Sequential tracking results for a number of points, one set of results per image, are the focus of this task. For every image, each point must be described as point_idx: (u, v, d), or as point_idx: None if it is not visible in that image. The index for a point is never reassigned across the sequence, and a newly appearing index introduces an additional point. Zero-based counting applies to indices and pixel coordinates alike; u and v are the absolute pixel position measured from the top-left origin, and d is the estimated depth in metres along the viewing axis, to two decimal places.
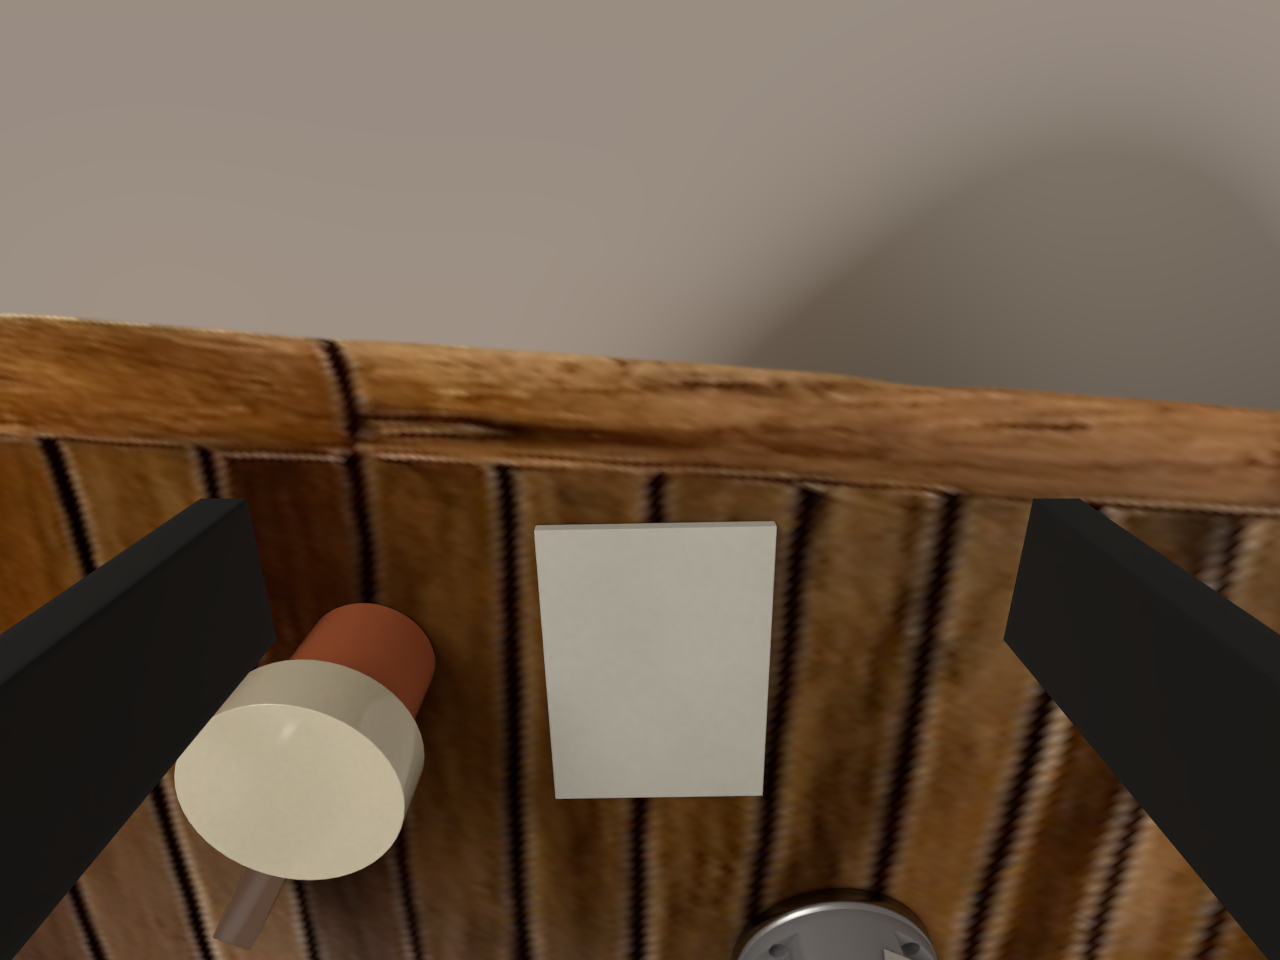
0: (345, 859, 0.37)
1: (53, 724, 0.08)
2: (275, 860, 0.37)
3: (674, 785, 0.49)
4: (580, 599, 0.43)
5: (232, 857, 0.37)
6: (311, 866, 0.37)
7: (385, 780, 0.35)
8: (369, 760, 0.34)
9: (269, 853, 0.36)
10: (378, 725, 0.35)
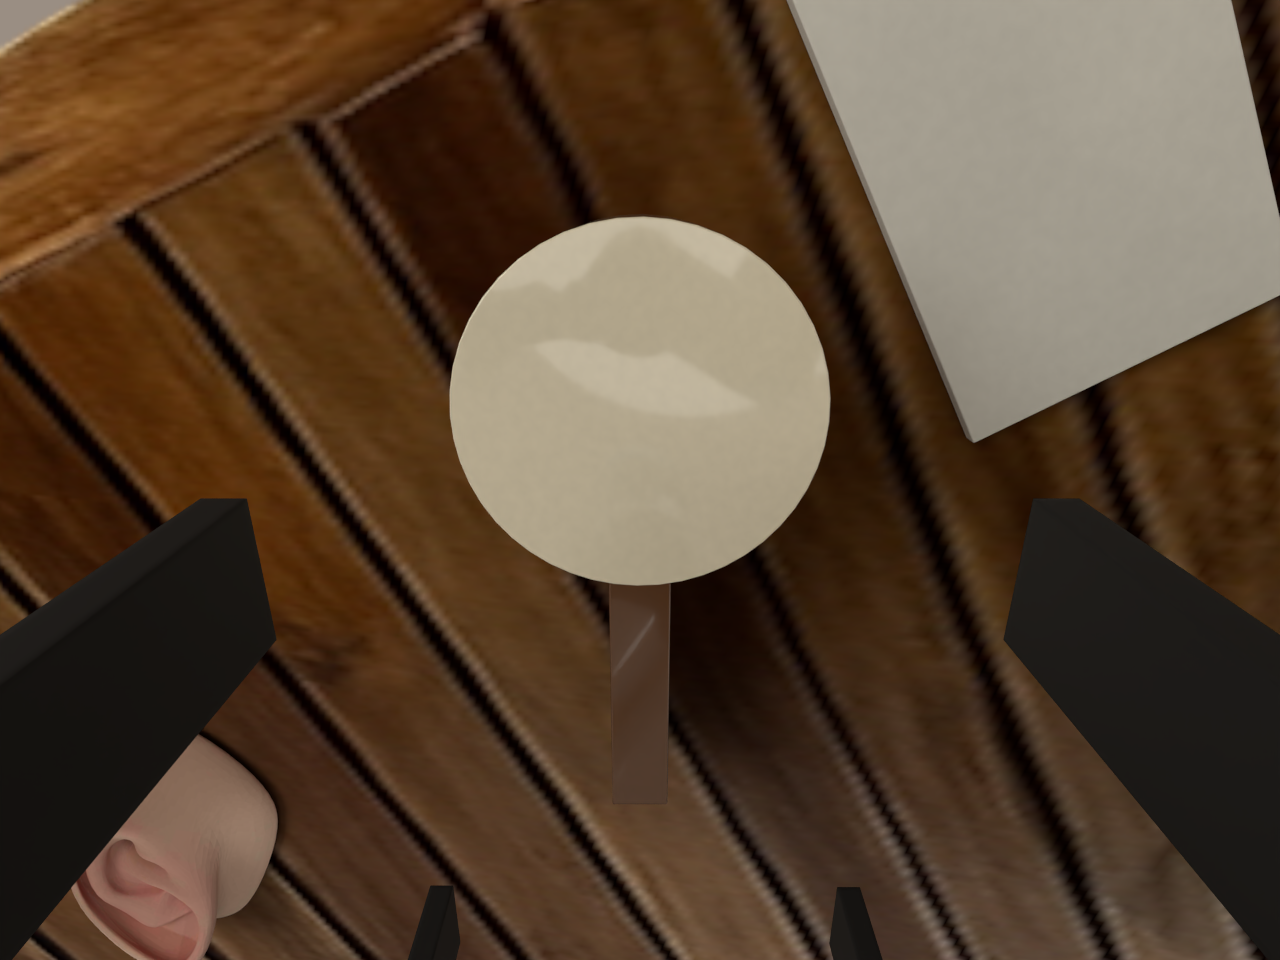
0: (763, 501, 0.22)
1: (53, 724, 0.08)
2: (659, 553, 0.23)
3: (1147, 336, 0.31)
4: (896, 72, 0.27)
5: (597, 576, 0.23)
6: (716, 539, 0.22)
7: (775, 308, 0.20)
8: (736, 277, 0.20)
9: (647, 544, 0.22)
10: None
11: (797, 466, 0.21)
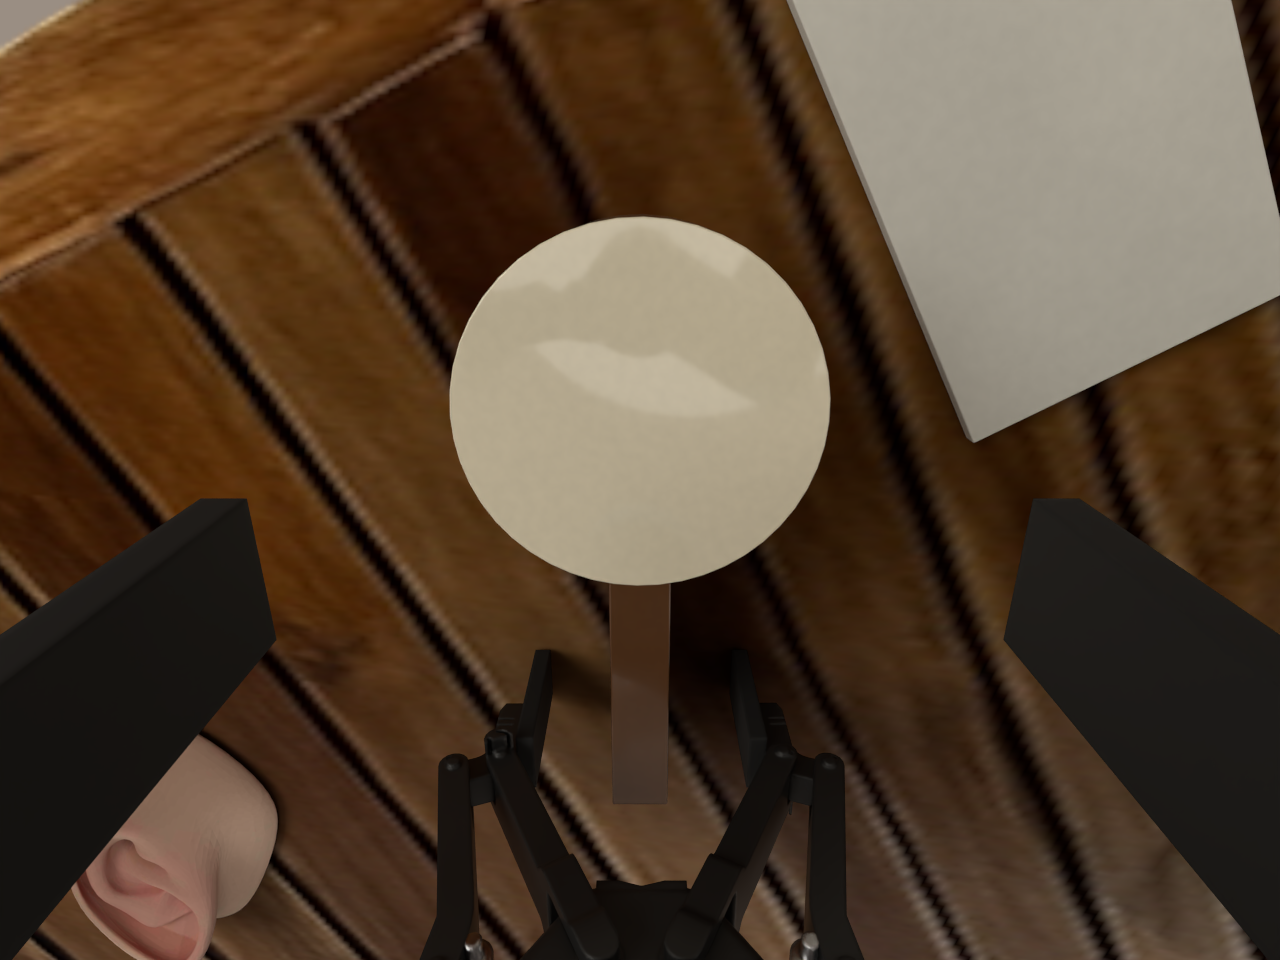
0: (763, 501, 0.22)
1: (53, 724, 0.08)
2: (659, 553, 0.23)
3: (1147, 336, 0.31)
4: (896, 72, 0.27)
5: (597, 576, 0.23)
6: (716, 539, 0.22)
7: (775, 308, 0.20)
8: (736, 277, 0.20)
9: (647, 544, 0.22)
10: None
11: (797, 466, 0.21)
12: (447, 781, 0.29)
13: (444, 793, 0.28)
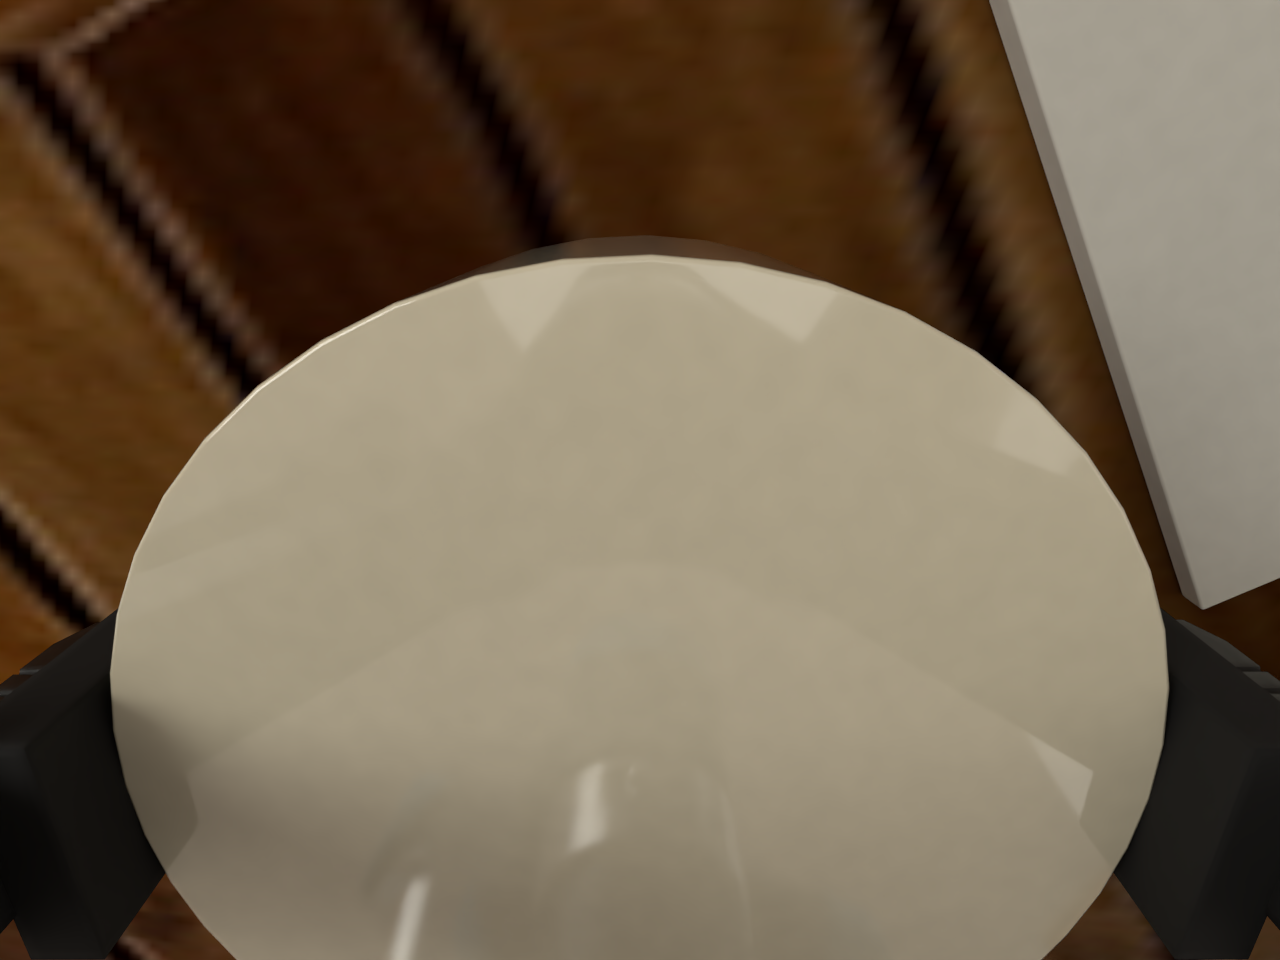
0: None
1: None
2: None
3: None
4: None
5: None
6: None
7: (1045, 524, 0.07)
8: (937, 439, 0.06)
9: None
10: None
11: (1048, 892, 0.08)
12: None
13: None
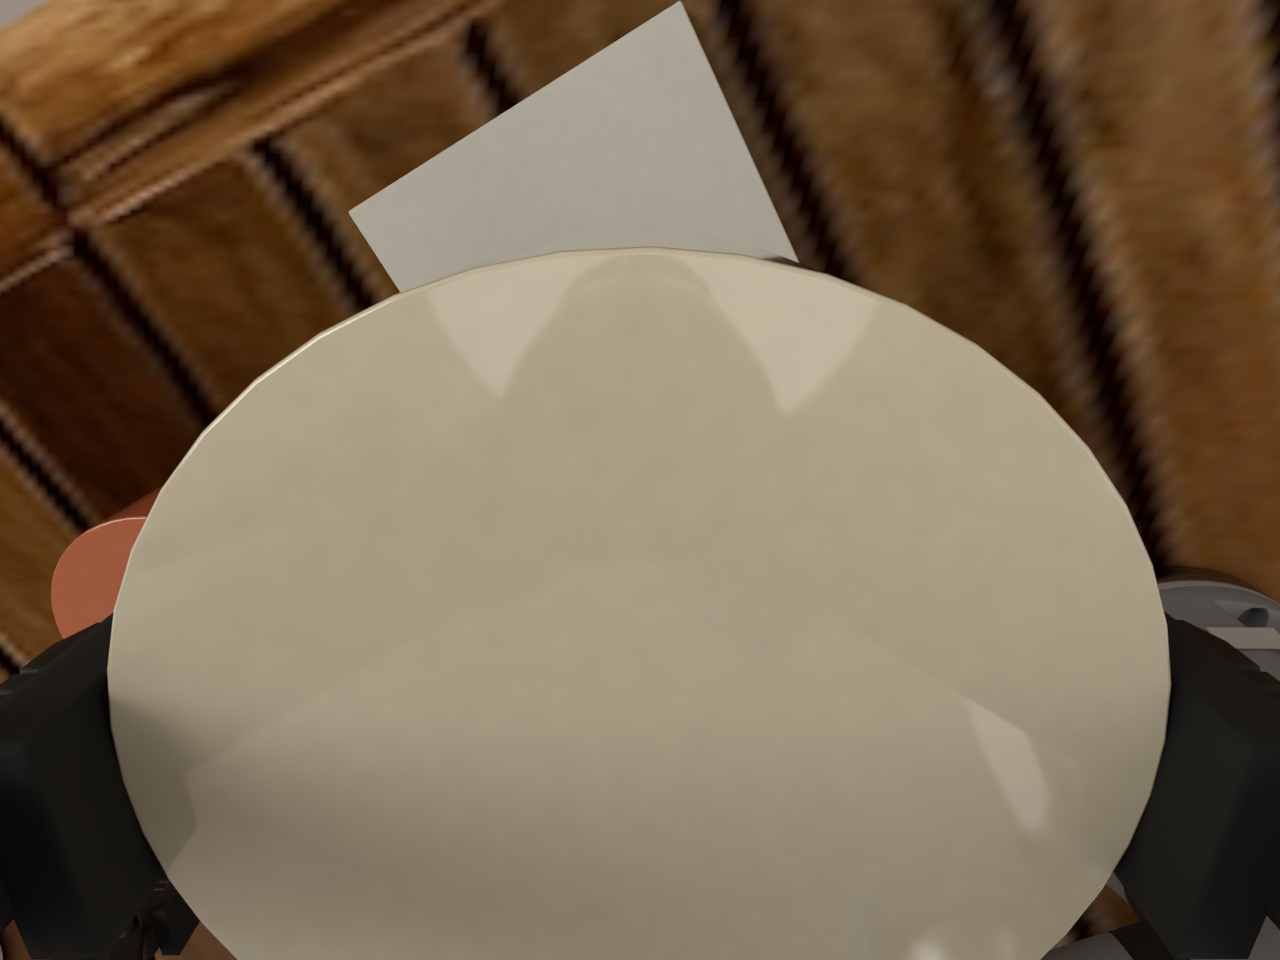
0: (952, 959, 0.09)
1: None
2: None
3: None
4: None
5: None
6: None
7: (1046, 519, 0.07)
8: (940, 432, 0.06)
9: None
10: None
11: (1050, 889, 0.08)
12: None
13: None
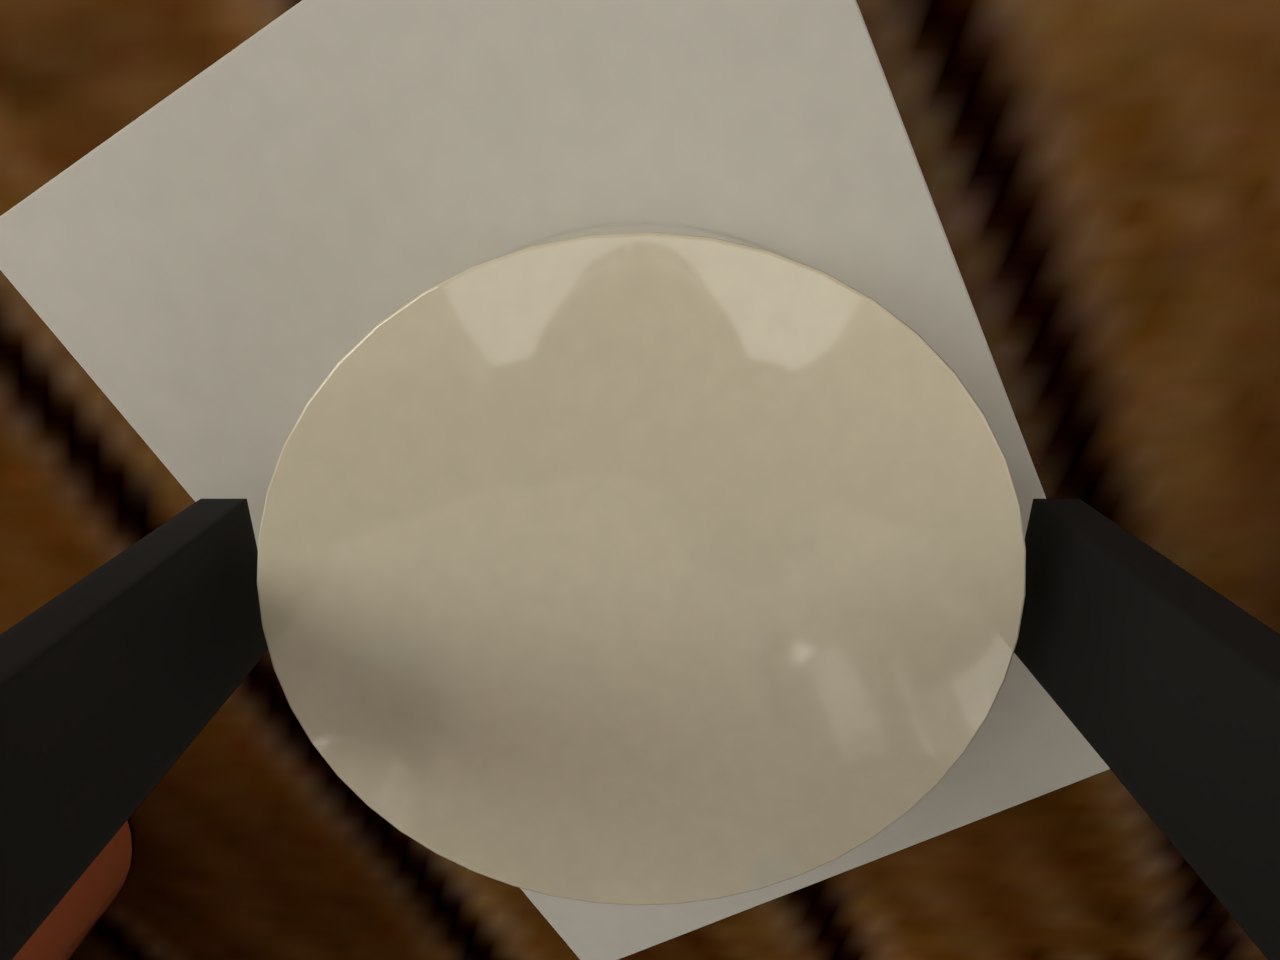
0: (877, 774, 0.11)
1: (53, 724, 0.08)
2: (678, 857, 0.12)
3: None
4: (269, 403, 0.13)
5: (561, 892, 0.12)
6: (785, 834, 0.12)
7: (928, 424, 0.09)
8: (850, 362, 0.09)
9: (655, 842, 0.12)
10: None
11: (948, 715, 0.11)
12: None
13: None
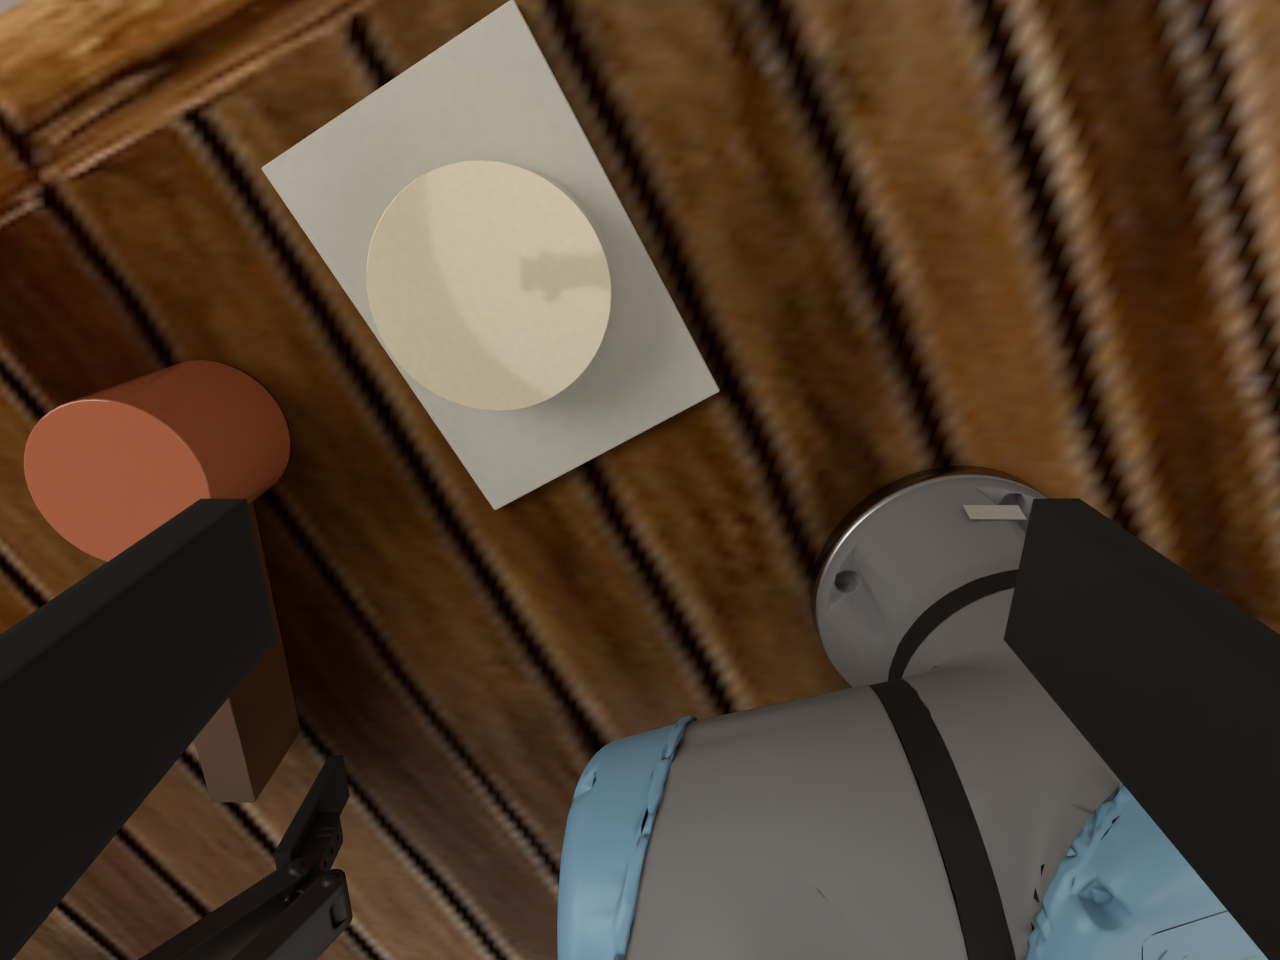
0: (573, 350, 0.33)
1: (53, 724, 0.08)
2: (509, 388, 0.34)
3: (611, 428, 0.38)
4: (362, 231, 0.35)
5: (468, 404, 0.34)
6: (545, 377, 0.34)
7: (569, 218, 0.31)
8: (543, 198, 0.31)
9: (500, 381, 0.34)
10: (537, 173, 0.32)
11: (593, 326, 0.33)
12: None
13: None
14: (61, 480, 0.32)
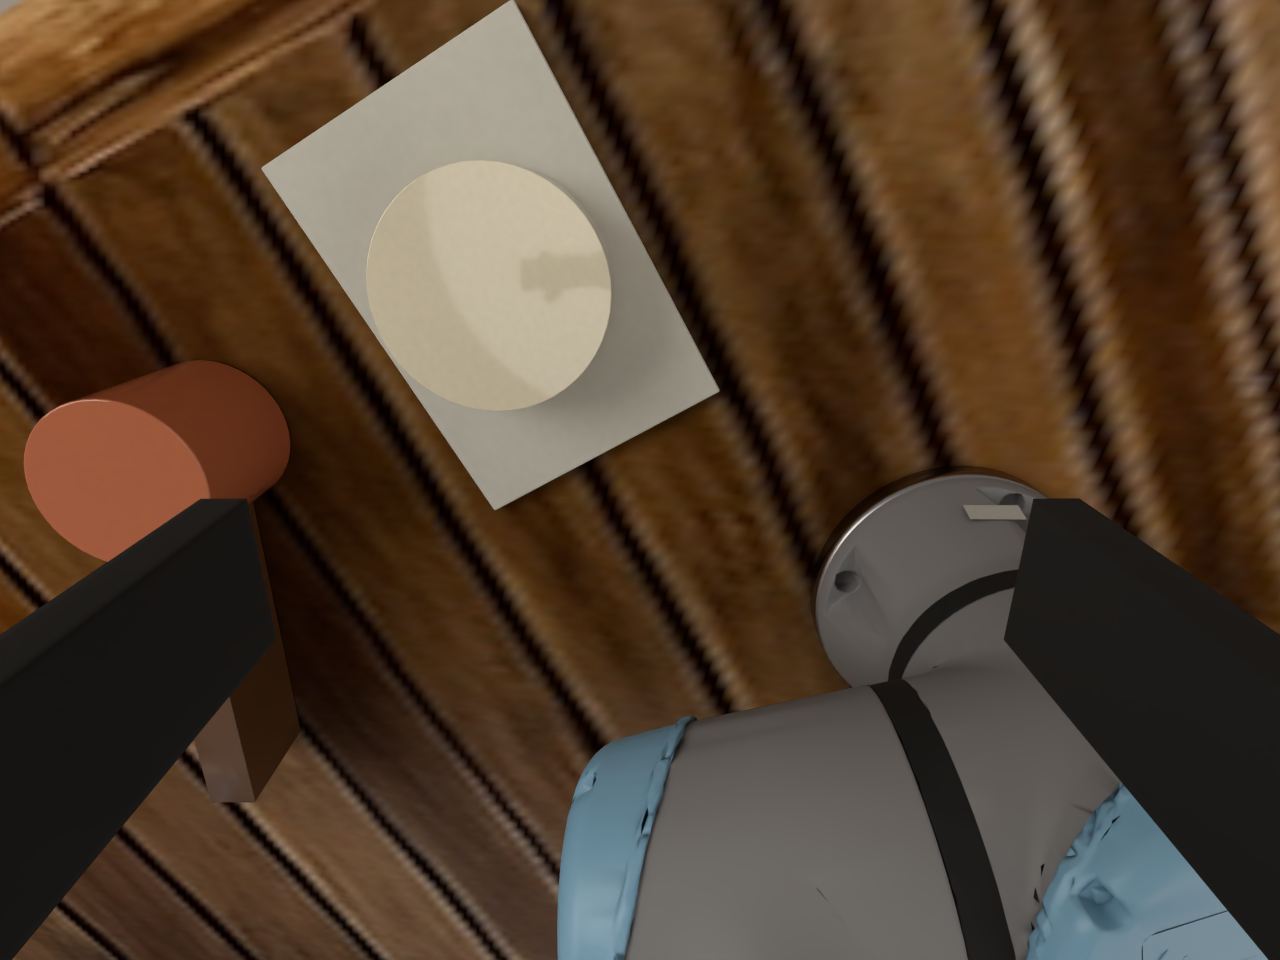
0: (573, 350, 0.33)
1: (53, 724, 0.08)
2: (509, 388, 0.34)
3: (611, 428, 0.38)
4: (362, 231, 0.35)
5: (468, 404, 0.34)
6: (545, 377, 0.34)
7: (569, 218, 0.31)
8: (543, 198, 0.31)
9: (500, 381, 0.34)
10: (537, 173, 0.32)
11: (593, 326, 0.33)
12: None
13: None
14: (61, 480, 0.32)
